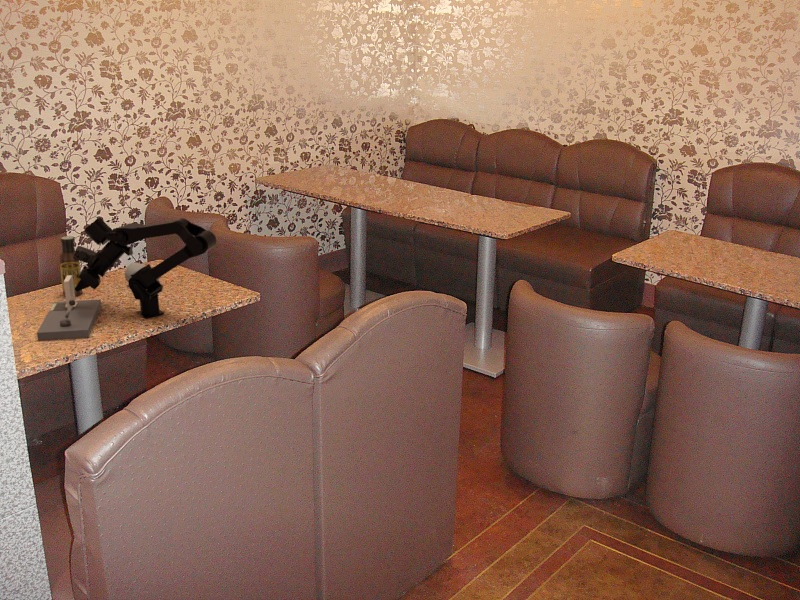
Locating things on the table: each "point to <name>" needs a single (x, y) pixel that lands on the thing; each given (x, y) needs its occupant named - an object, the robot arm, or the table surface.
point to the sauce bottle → (69, 263)
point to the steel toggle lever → (69, 308)
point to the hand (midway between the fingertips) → (75, 290)
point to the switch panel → (69, 321)
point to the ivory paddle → (69, 290)
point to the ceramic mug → (132, 270)
